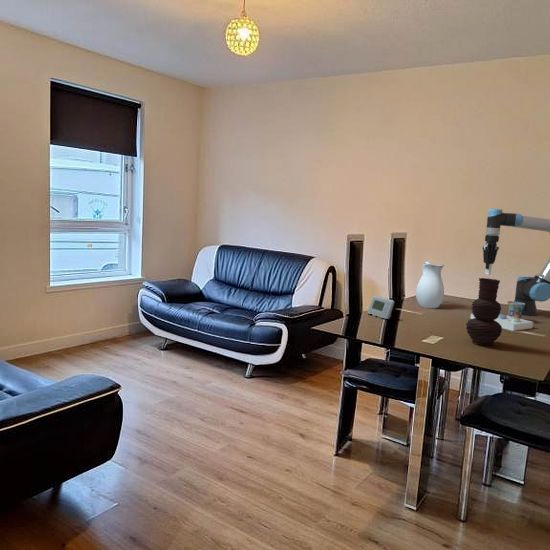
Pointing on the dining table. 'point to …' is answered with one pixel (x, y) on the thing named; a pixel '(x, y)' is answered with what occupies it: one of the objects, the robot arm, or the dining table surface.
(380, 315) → the digital clock
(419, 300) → the pitcher
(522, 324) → the panel
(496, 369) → the dining table surface
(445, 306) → the dining table surface
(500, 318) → the slate button
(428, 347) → the dining table surface
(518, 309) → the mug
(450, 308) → the dining table surface
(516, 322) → the sage button
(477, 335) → the vase
